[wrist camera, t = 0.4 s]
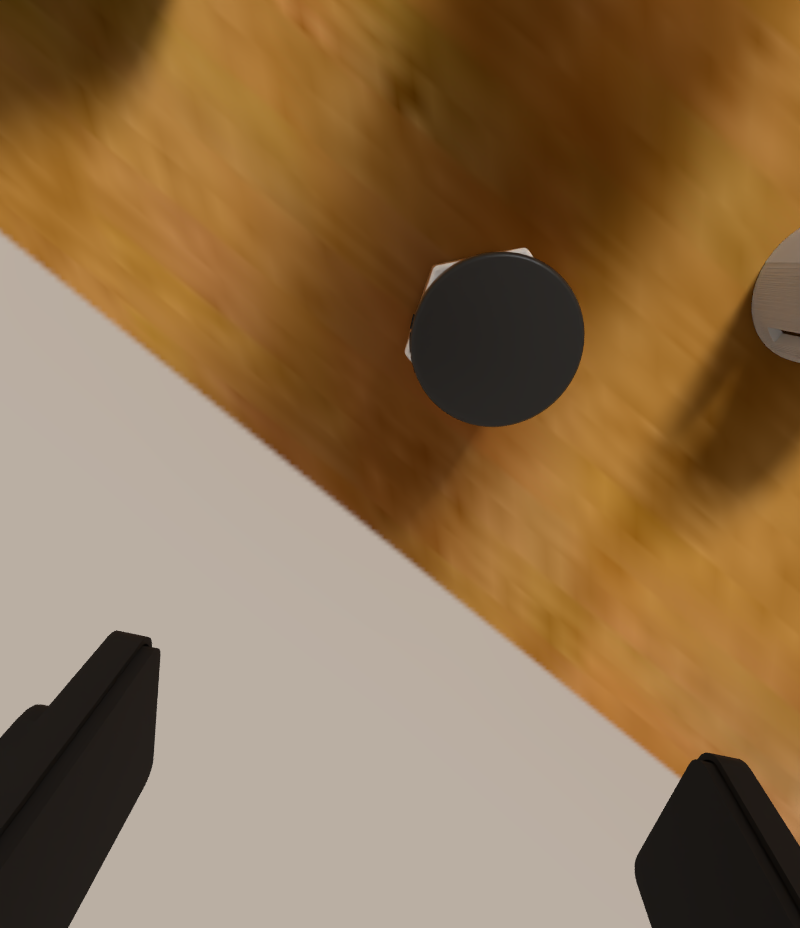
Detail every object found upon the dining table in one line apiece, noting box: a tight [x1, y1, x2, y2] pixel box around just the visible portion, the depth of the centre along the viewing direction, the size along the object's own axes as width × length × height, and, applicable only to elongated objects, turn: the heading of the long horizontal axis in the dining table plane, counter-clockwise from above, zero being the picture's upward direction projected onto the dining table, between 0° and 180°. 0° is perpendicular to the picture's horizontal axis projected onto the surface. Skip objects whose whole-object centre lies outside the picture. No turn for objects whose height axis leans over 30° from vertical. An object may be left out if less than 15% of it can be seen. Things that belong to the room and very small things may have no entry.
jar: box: [405, 248, 584, 427], centre depth 30 cm, size 9×8×12 cm
